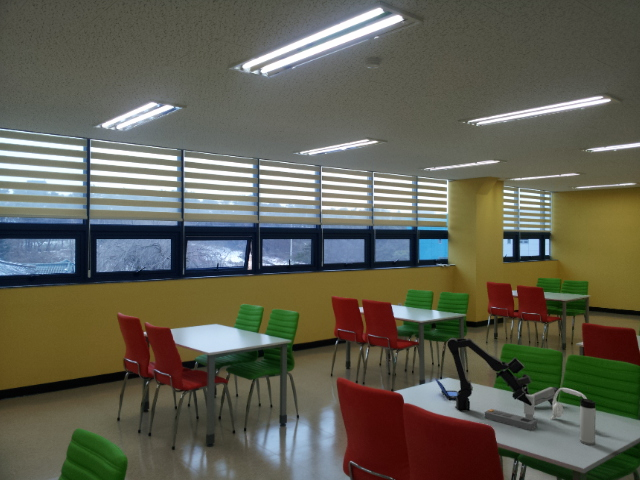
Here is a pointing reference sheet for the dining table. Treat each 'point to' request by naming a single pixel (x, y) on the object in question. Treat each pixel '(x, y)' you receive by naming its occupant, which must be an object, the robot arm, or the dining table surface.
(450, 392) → the handheld game console
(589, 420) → the travel mug
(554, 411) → the headset
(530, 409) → the plain gray block
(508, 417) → the power strip
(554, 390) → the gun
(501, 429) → the dining table surface
